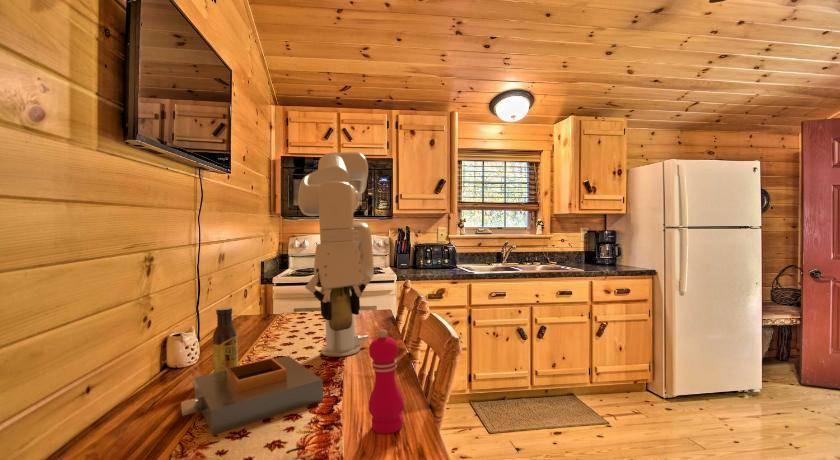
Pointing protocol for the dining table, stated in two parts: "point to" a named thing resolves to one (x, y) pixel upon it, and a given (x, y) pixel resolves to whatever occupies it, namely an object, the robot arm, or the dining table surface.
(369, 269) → the robot arm
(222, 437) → the dining table surface
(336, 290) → the fennel bulb
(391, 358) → the pepper mill
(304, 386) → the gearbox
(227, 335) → the sauce bottle
